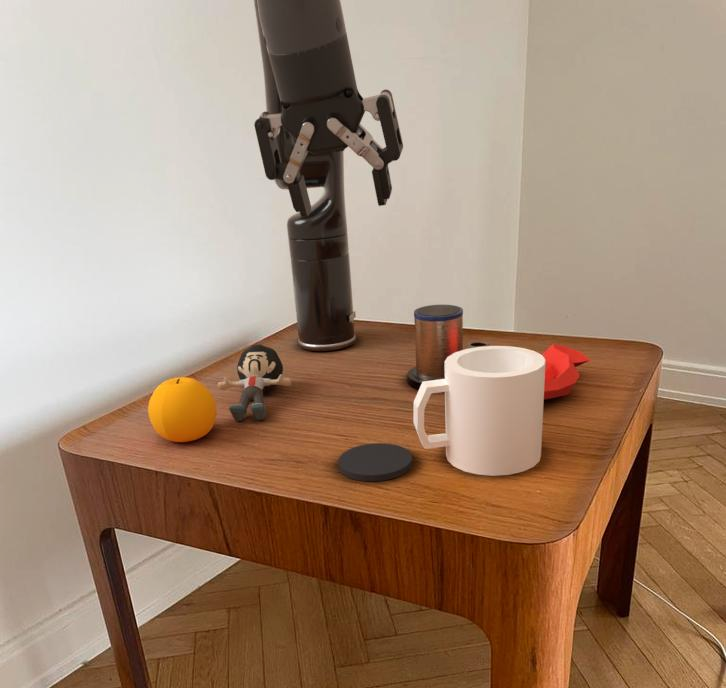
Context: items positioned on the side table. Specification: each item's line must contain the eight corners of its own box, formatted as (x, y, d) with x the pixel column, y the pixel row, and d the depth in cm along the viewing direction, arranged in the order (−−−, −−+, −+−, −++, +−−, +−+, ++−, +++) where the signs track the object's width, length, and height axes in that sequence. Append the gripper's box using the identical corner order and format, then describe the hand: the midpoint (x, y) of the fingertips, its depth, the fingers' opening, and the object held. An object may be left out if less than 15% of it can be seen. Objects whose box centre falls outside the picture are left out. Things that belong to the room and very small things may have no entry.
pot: (409, 368, 105) (407, 308, 101) (452, 361, 106) (451, 301, 102) (425, 382, 99) (423, 319, 95) (470, 375, 101) (470, 312, 97)
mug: (429, 485, 76) (426, 386, 71) (407, 446, 85) (403, 355, 80) (556, 468, 77) (561, 370, 73) (521, 430, 86) (524, 341, 82)
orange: (194, 419, 97) (183, 363, 93) (233, 432, 92) (224, 374, 88) (141, 440, 91) (128, 382, 88) (180, 455, 87) (168, 394, 83)
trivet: (331, 456, 84) (330, 450, 83) (398, 444, 85) (398, 438, 85) (349, 487, 77) (349, 480, 76) (423, 473, 78) (422, 466, 78)
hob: (398, 375, 106) (398, 367, 106) (457, 366, 108) (457, 357, 108) (420, 396, 99) (419, 386, 98) (483, 385, 101) (483, 376, 100)
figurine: (206, 408, 93) (222, 336, 103) (218, 446, 98) (232, 373, 108) (285, 404, 92) (293, 332, 102) (292, 442, 97) (299, 369, 107)
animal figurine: (601, 377, 100) (604, 340, 98) (558, 415, 90) (561, 375, 87) (521, 366, 107) (522, 331, 104) (472, 400, 96) (472, 362, 94)
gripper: (386, 13, 70) (414, 185, 80) (246, 42, 74) (289, 203, 84) (374, 32, 64) (405, 214, 75) (223, 63, 68) (273, 232, 79)
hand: (344, 208), depth 79 cm, fingers open, 8 cm apart
